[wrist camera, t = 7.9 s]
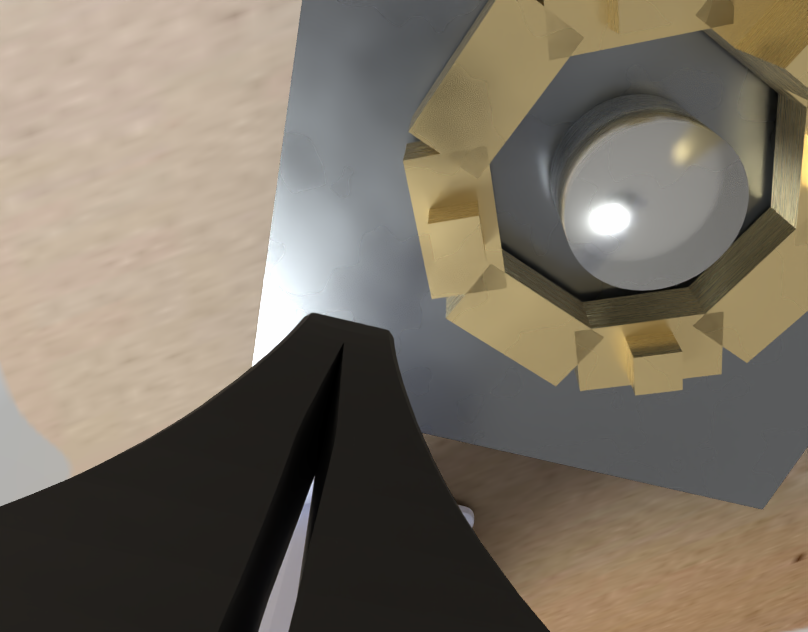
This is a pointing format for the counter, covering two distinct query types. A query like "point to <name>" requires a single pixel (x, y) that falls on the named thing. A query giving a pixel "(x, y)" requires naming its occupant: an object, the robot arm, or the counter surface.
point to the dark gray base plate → (540, 238)
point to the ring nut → (539, 297)
